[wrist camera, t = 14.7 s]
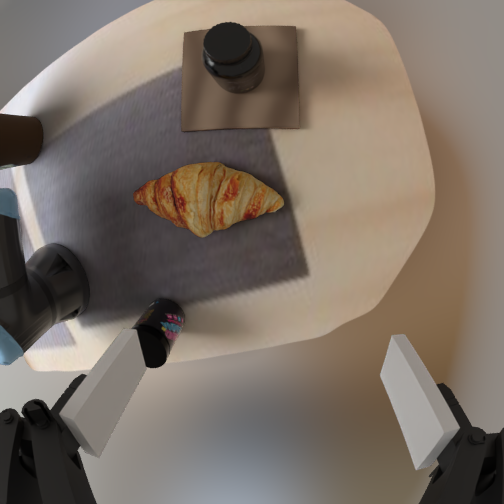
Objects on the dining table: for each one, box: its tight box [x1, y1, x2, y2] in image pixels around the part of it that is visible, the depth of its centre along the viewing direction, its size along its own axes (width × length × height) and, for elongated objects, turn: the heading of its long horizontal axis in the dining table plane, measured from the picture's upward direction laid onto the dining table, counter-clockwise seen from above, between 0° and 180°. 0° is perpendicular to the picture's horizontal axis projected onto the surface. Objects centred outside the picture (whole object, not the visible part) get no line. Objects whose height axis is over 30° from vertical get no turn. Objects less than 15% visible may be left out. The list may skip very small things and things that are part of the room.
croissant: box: [133, 162, 284, 237], centre depth 37 cm, size 21×10×8 cm, turn 88°
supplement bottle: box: [201, 22, 265, 94], centre depth 27 cm, size 7×7×12 cm
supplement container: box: [131, 299, 185, 368], centre depth 42 cm, size 7×7×10 cm
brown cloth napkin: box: [181, 26, 299, 132], centre depth 34 cm, size 16×16×1 cm
